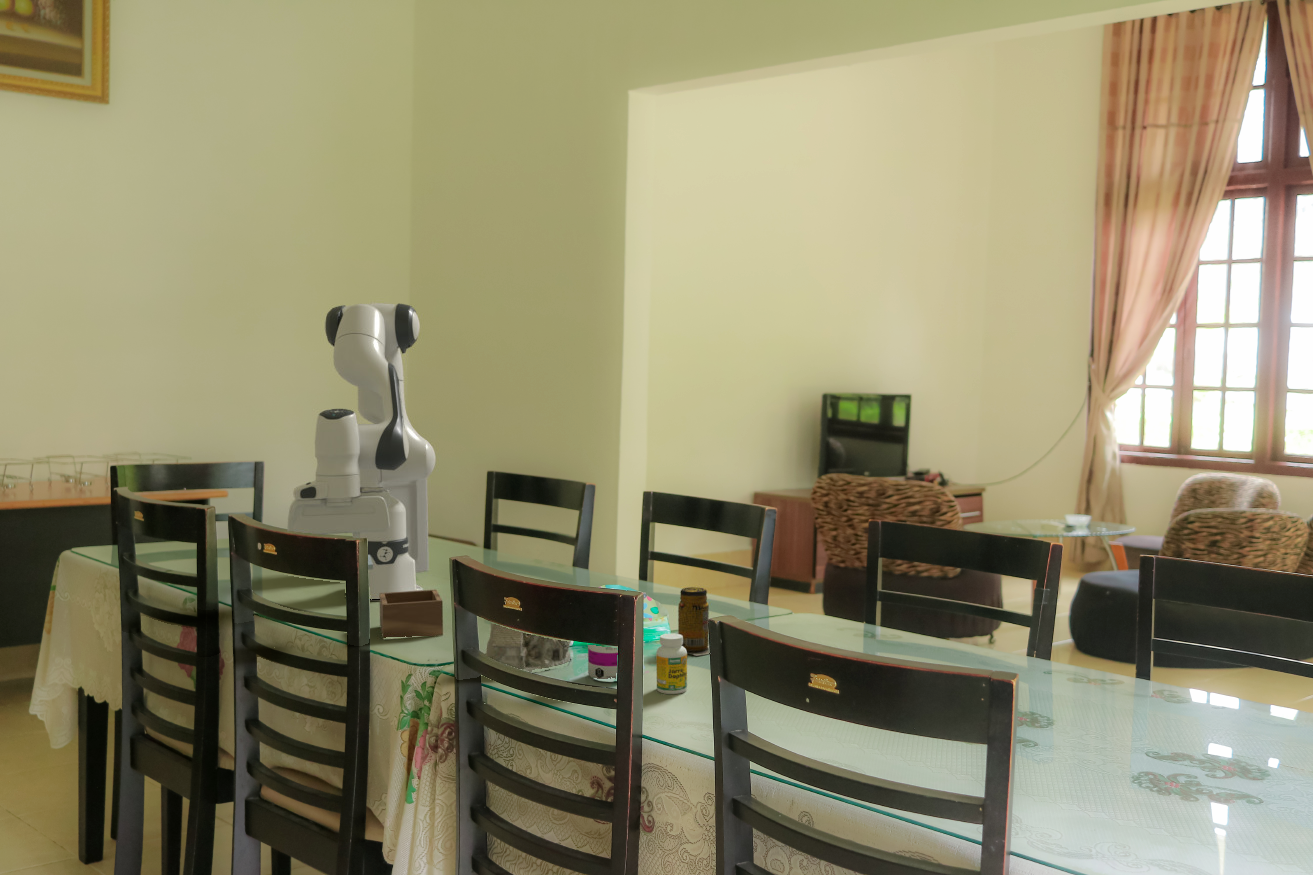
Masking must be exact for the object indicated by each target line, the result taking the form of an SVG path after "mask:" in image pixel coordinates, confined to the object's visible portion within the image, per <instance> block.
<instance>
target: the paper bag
mask: <svg viewBox="0 0 1313 875" xmlns="http://www.w3.org/2000/svg"><path fill="white" fill-rule="evenodd" d="M379 487H383V489H386V490H388V491H389V493H390V496H391V497H393V498H395V499H397V500H399V501H400V502H401V503H402V504H403V505H404V507H405V509H406V537H408V542H409V546H408V550H409V551H408V554H409V556H410V557H411V558H413V560H414V561H415V574H418V572H419V573H423V572H424V571H425V572H429V570H430V568H429V567H430V565H429V564H430V562H429V561H430V560H429V512H428V510H429V508H428V507H429V506H428V477H427V478H424V479H420V480H415V481H410V482H382V483H379ZM383 492H386V491H383Z"/></svg>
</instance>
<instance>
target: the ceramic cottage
mask: <svg viewBox="0 0 1313 875" xmlns="http://www.w3.org/2000/svg"><path fill="white" fill-rule="evenodd" d="M570 644H571V641H570V642H567V641H561V640H556V639H549V638H544V637H541V636H536V635H531V634H526V633H523V632H519V631H515V630H512V629H508V628H506V627H502V626H500V625H496V624H492V623H490V634H489V638H488V641H487V643H486V650H485V651H486V652H485V653H484V654H485V655H486V656H487V657H490V658H492V659H494V660H496V661H498V662H501V663H503V664H507V665H509V666H512V667H515V668H518V669H522V670H525V671H529V672H532V670H535V669H542V668H549V667H553V666H558V665H562V664H565V663H567V662H569V660H570V659H571V660H572V658H571V654H570V651H569V649H570Z"/></svg>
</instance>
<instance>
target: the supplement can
mask: <svg viewBox="0 0 1313 875" xmlns="http://www.w3.org/2000/svg"><path fill="white" fill-rule="evenodd" d="M617 655H618V650H617V648H612V647H602V646H596V645H588V644H587V671H588V672H587V673H588V674H587V675H588V676H590V678H592V677H593V678H597V679H608V678H610V679H611V677H612V678H615V679H616V673H617Z"/></svg>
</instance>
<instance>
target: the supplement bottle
mask: <svg viewBox="0 0 1313 875" xmlns="http://www.w3.org/2000/svg"><path fill="white" fill-rule="evenodd" d="M682 644H683V636H682V635H680V634H678V633H674V632H673V633H670V632H669V633H664V634H660V636H659V645H661V646H659V647H658V648H657V649H656V652H655V656H656V658H655V660H656V662H655V663H656V665H655V666H656V690H657V692H659V693H661V694H665V695H679V694H683V693H685V692H686V691H687V690H688V653H687V651H686V649H685V648H684V647H683V646H681V645H682Z"/></svg>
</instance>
